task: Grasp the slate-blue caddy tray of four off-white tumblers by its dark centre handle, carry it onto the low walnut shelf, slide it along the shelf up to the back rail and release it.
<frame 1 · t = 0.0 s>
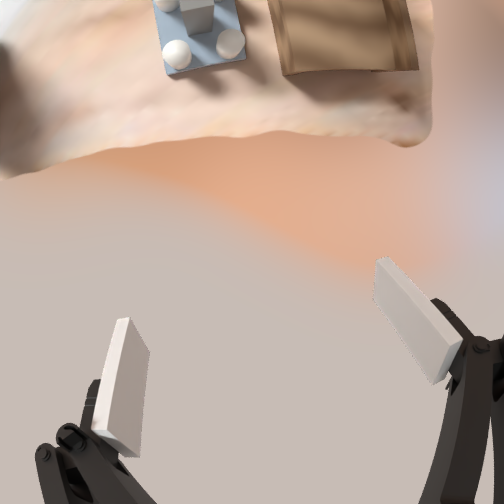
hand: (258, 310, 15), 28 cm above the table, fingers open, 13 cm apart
tray: (198, 26, 29), on the table
shelf: (326, 27, 30), on the table
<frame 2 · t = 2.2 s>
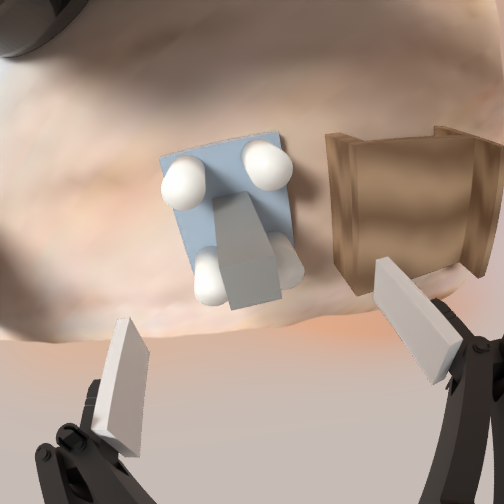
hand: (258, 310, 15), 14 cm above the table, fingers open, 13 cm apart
tray: (231, 204, 27), on the table
shelf: (393, 192, 29), on the table
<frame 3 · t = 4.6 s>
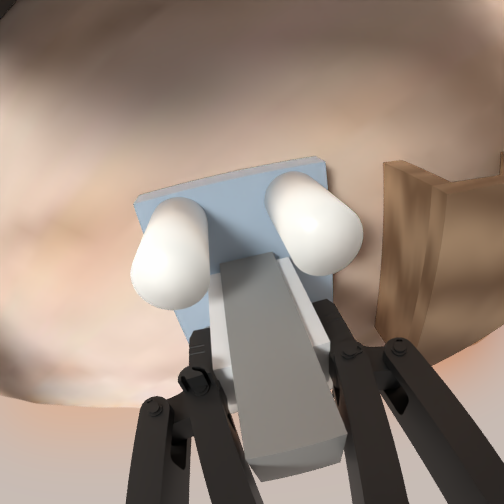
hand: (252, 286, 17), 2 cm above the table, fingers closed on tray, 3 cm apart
tray: (247, 265, 18), on the table, touching gripper
shelf: (453, 237, 20), on the table
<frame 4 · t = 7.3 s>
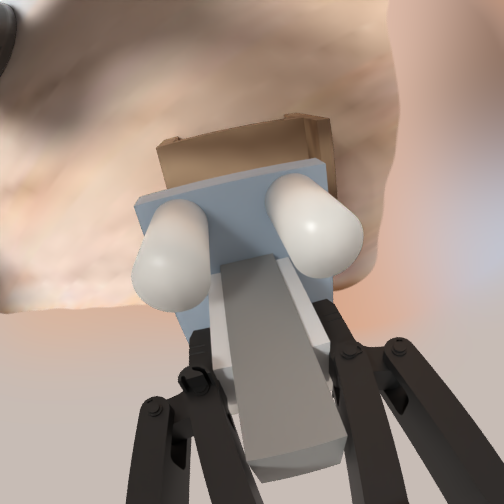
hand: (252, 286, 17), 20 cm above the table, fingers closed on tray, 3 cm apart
tray: (247, 267, 19), point 17 cm above the table, touching gripper
shelf: (242, 182, 34), on the table
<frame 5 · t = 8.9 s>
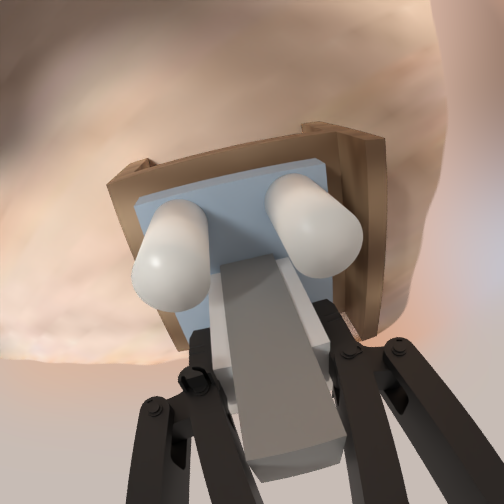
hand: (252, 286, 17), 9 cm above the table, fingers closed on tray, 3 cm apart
tray: (247, 267, 19), point 7 cm above the table, touching gripper
shelf: (242, 221, 24), on the table
when the fingers open (9 cm above the table, at t = 10.0 s): tray stays where it is, resting on shelf.
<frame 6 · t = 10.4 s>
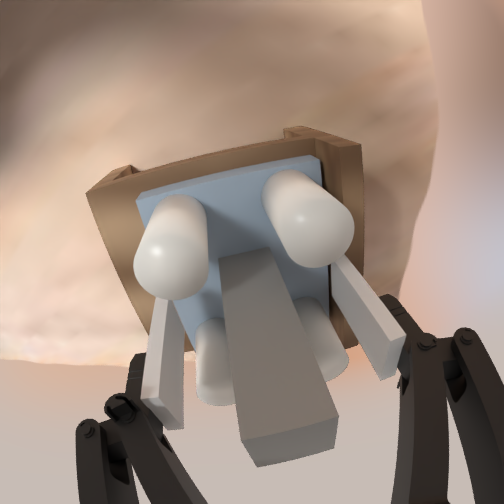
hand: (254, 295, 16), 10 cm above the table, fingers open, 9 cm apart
tray: (245, 261, 19), point 6 cm above the table, touching shelf
shelf: (224, 227, 24), on the table
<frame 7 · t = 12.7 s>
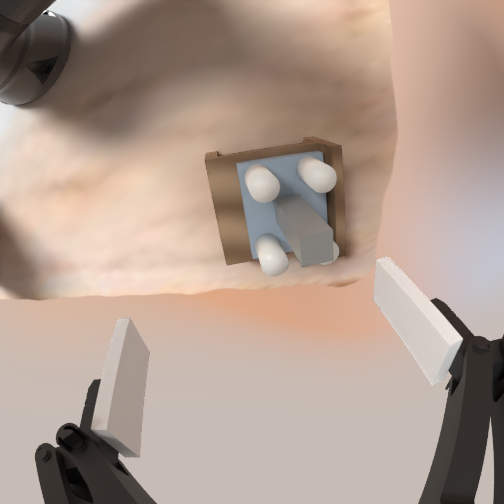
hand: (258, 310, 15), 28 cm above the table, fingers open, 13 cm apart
tray: (284, 203, 36), point 6 cm above the table, touching shelf
shelf: (267, 191, 41), on the table
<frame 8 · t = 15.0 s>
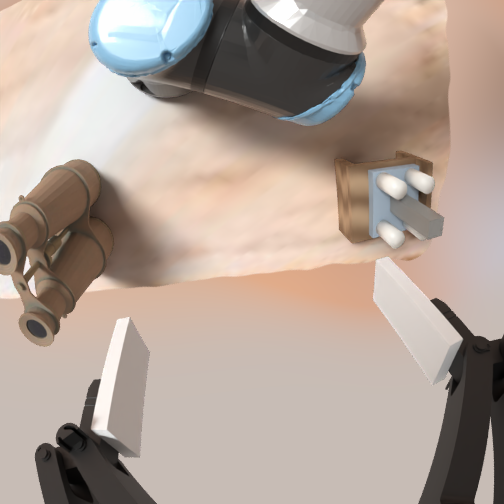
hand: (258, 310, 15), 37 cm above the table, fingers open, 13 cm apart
tray: (392, 199, 48), point 6 cm above the table, touching shelf
shelf: (372, 189, 53), on the table
binoculars: (84, 212, 47), on the table
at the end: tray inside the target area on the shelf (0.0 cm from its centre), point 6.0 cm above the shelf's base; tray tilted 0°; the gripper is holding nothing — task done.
